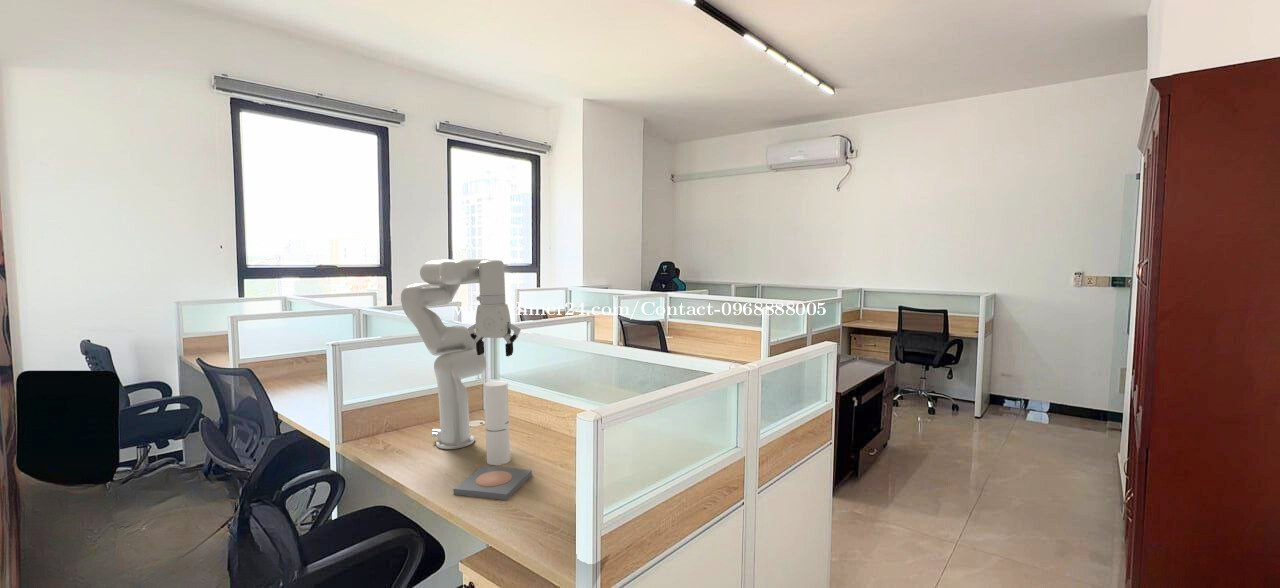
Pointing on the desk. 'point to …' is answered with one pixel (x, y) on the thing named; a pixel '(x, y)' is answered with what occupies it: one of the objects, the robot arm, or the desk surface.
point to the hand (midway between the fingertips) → (494, 355)
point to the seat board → (493, 482)
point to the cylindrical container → (497, 422)
